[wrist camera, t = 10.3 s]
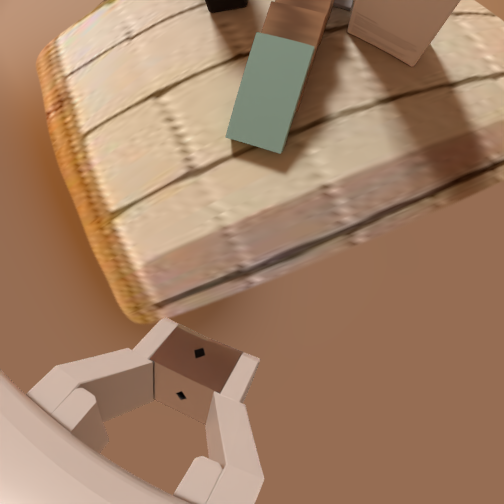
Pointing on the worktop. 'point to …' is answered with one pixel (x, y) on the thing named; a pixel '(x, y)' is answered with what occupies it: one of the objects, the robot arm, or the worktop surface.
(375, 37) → the skincare box
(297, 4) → the domino
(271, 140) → the domino end
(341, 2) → the pad
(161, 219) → the worktop surface
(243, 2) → the battery
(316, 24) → the domino
